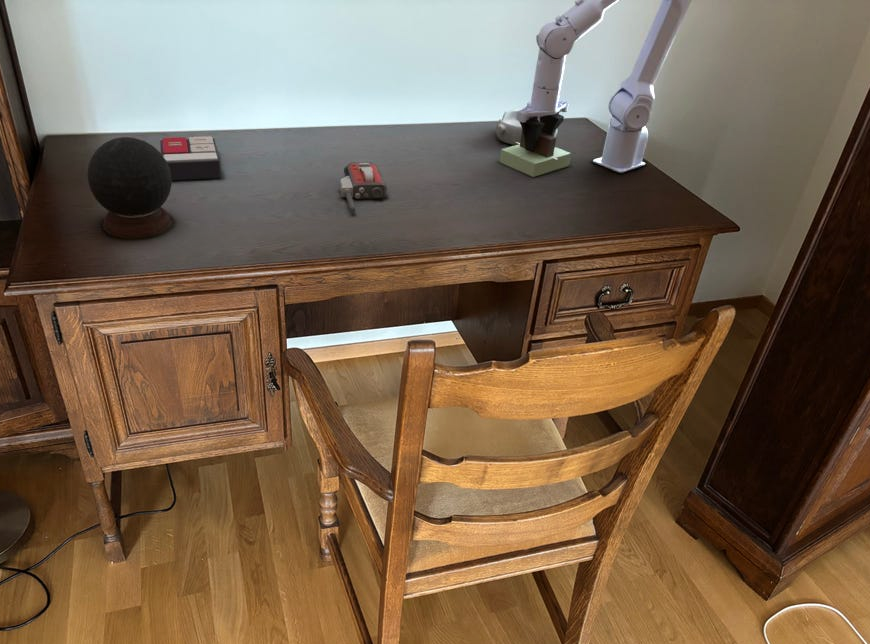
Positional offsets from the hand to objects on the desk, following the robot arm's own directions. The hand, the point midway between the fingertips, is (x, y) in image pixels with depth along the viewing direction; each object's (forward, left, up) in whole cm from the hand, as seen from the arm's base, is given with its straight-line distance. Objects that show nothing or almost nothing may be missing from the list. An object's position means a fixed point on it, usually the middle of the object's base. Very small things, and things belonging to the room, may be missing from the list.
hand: (536, 148), depth 164 cm
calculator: (+64, -38, -4) cm, 74 cm away
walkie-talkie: (+43, -8, -4) cm, 43 cm away
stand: (0, 0, -3) cm, 3 cm away
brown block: (0, 0, 0) cm, 0 cm away
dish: (-10, -13, -4) cm, 17 cm away
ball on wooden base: (+84, -19, -4) cm, 86 cm away
